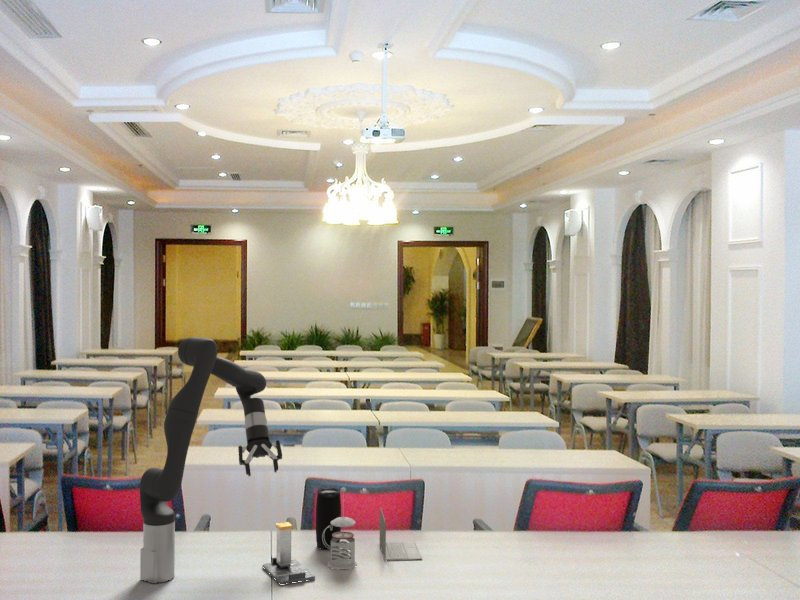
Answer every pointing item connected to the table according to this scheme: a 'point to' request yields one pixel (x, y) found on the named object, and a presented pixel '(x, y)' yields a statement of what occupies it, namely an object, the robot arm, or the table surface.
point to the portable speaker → (327, 515)
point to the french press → (342, 543)
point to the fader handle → (283, 544)
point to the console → (288, 572)
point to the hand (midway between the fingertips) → (262, 473)
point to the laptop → (396, 546)
